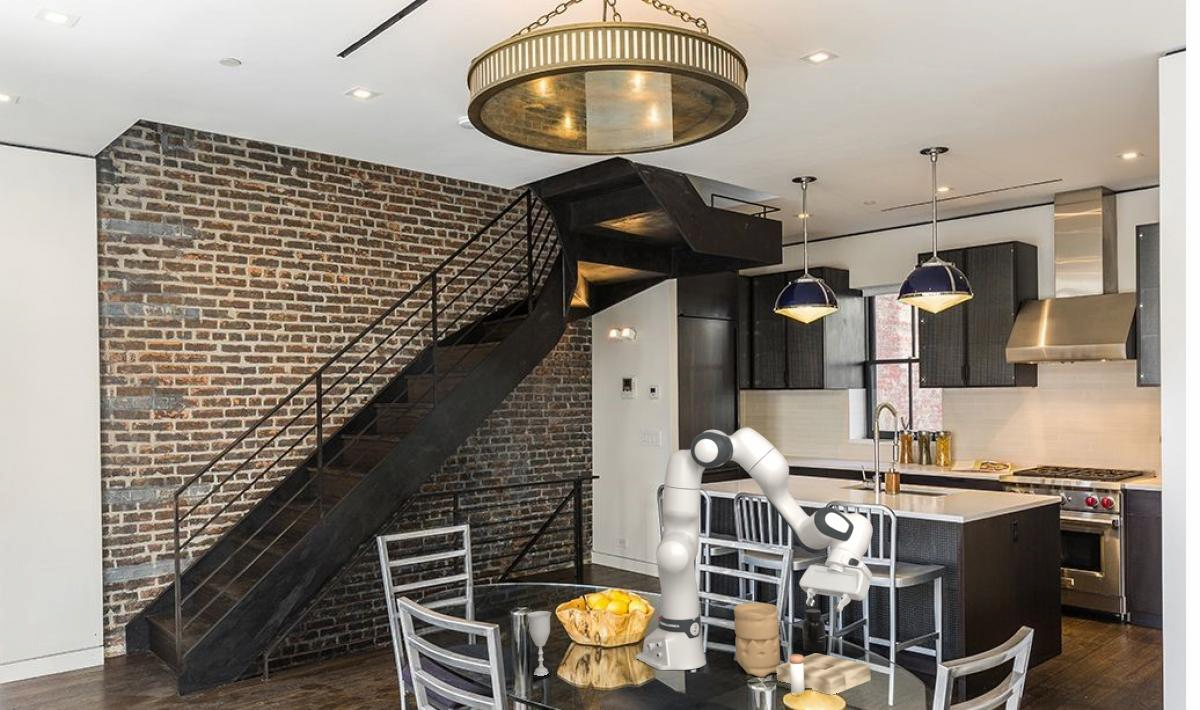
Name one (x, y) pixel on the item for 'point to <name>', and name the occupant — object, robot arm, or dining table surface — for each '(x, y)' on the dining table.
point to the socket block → (828, 673)
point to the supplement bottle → (814, 631)
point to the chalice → (539, 635)
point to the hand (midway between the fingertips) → (823, 607)
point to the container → (757, 638)
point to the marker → (796, 673)
